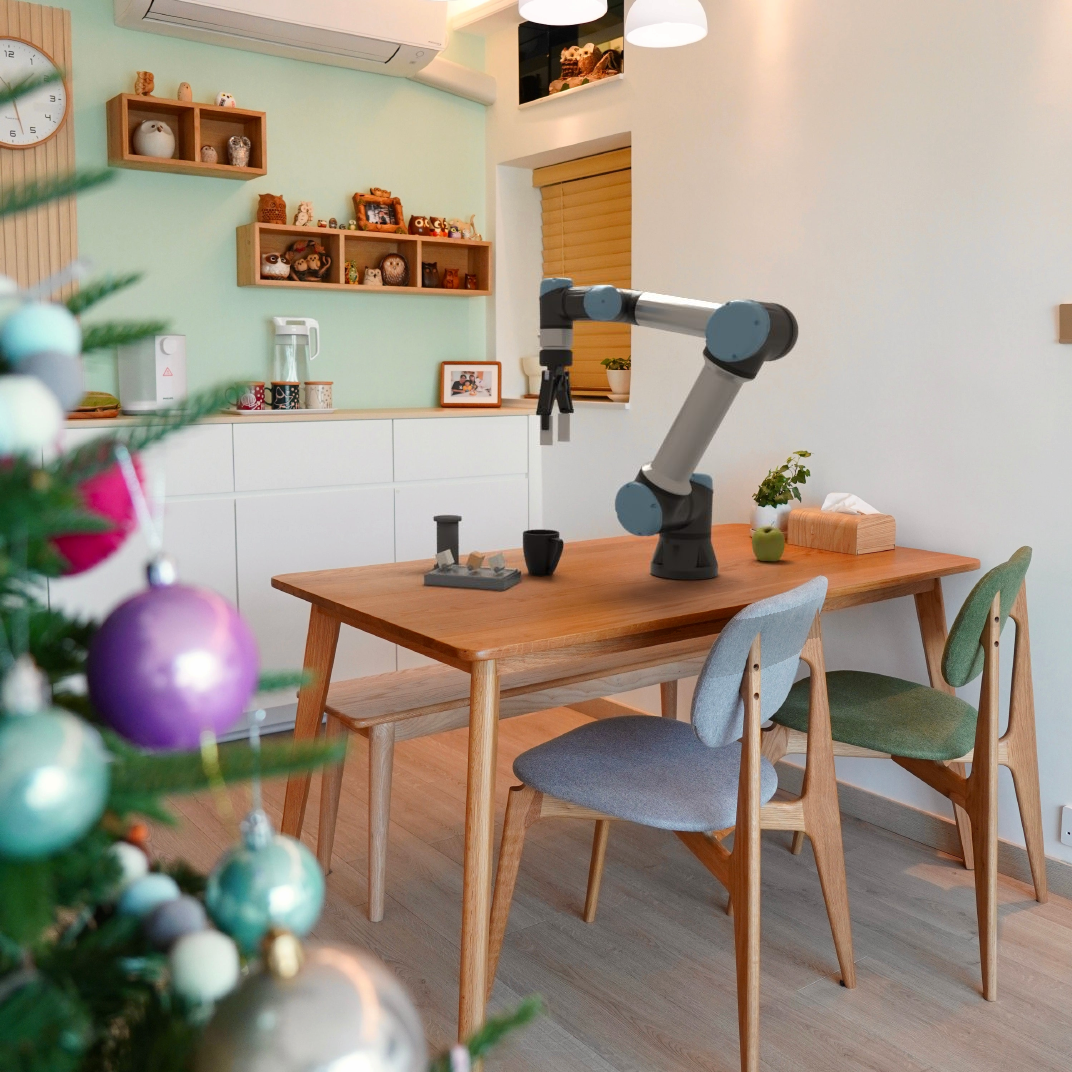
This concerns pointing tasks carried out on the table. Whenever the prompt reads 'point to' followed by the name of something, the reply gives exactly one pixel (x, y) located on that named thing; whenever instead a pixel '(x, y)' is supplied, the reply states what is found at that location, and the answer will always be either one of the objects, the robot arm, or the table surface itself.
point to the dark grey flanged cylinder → (448, 535)
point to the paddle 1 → (445, 559)
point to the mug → (542, 551)
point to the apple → (768, 543)
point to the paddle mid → (475, 561)
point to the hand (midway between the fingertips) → (555, 443)
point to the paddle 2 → (497, 562)
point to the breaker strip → (473, 577)
